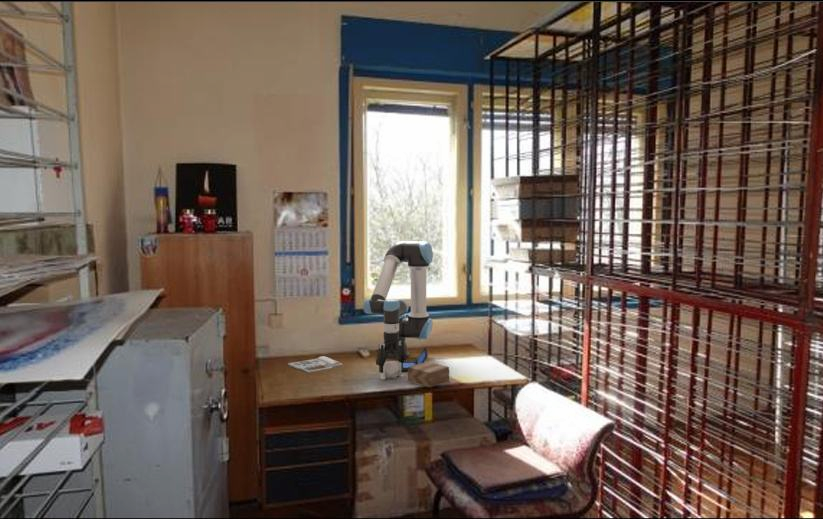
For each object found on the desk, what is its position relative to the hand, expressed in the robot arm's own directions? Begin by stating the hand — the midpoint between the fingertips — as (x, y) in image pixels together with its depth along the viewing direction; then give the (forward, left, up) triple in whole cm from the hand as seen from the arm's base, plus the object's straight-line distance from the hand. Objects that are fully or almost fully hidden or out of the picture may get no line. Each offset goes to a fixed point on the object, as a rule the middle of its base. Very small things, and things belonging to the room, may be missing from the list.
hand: (390, 377), depth 260 cm
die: (0, 0, 0) cm, 0 cm away
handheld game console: (-6, +20, -1) cm, 21 cm away
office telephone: (-41, -17, -1) cm, 44 cm away
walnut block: (+15, +11, -1) cm, 19 cm away
